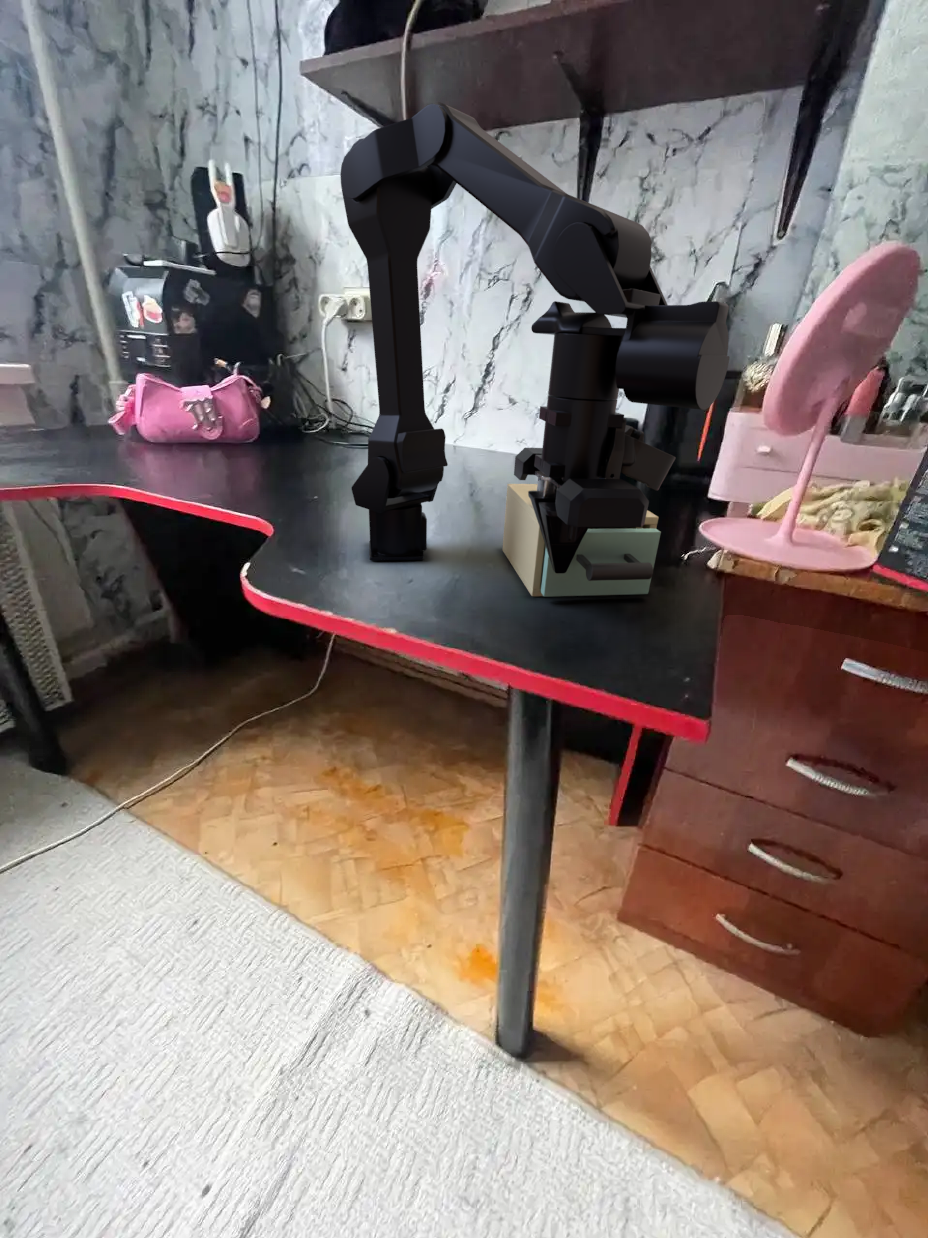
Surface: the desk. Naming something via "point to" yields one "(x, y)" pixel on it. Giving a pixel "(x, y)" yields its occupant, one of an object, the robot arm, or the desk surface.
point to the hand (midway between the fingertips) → (559, 572)
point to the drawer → (606, 564)
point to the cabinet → (530, 536)
